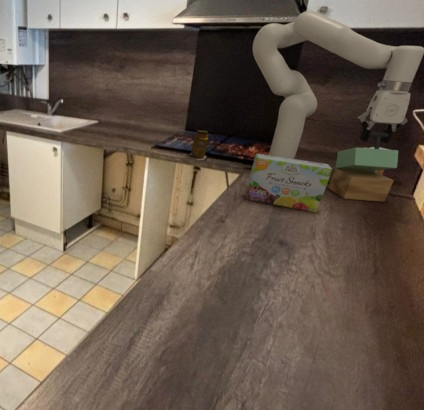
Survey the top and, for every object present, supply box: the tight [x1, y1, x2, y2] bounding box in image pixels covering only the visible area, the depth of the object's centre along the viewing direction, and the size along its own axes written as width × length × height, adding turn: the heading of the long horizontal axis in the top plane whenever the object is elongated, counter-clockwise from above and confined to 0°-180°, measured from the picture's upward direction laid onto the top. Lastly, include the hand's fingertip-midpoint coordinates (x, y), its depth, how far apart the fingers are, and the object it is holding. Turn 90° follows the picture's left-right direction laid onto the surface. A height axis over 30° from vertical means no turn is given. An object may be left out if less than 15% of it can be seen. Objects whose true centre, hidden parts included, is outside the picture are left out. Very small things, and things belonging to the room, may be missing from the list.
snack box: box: [245, 153, 333, 213], centre depth 116 cm, size 21×6×15 cm, turn 68°
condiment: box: [187, 129, 209, 161], centre depth 162 cm, size 7×8×12 cm
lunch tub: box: [335, 131, 399, 171], centre depth 127 cm, size 10×14×12 cm
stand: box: [328, 167, 395, 203], centre depth 129 cm, size 10×14×8 cm
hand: (373, 141), depth 124 cm, fingers closed on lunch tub, 6 cm apart
